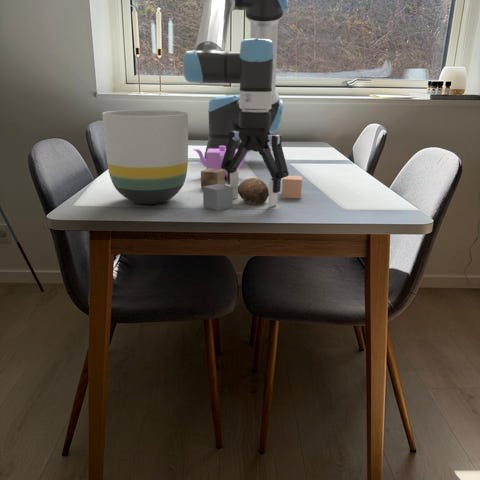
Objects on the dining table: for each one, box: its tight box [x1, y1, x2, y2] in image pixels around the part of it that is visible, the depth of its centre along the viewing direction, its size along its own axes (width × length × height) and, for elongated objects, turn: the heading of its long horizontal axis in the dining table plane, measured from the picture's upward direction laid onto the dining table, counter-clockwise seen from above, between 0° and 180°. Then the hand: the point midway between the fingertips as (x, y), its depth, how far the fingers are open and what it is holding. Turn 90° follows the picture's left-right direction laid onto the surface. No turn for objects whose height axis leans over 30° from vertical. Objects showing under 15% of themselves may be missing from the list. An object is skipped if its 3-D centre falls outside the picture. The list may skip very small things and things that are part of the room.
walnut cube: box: [200, 168, 226, 190], centre depth 129 cm, size 5×5×5 cm
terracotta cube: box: [281, 175, 303, 199], centre depth 122 cm, size 5×5×5 cm
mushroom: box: [238, 177, 269, 206], centre depth 115 cm, size 8×8×6 cm
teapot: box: [192, 146, 253, 181], centre depth 142 cm, size 18×13×10 cm
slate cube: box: [202, 184, 234, 212], centre depth 110 cm, size 5×5×5 cm
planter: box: [101, 109, 189, 205], centre depth 111 cm, size 20×20×21 cm
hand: (252, 201), depth 115 cm, fingers open, 11 cm apart
